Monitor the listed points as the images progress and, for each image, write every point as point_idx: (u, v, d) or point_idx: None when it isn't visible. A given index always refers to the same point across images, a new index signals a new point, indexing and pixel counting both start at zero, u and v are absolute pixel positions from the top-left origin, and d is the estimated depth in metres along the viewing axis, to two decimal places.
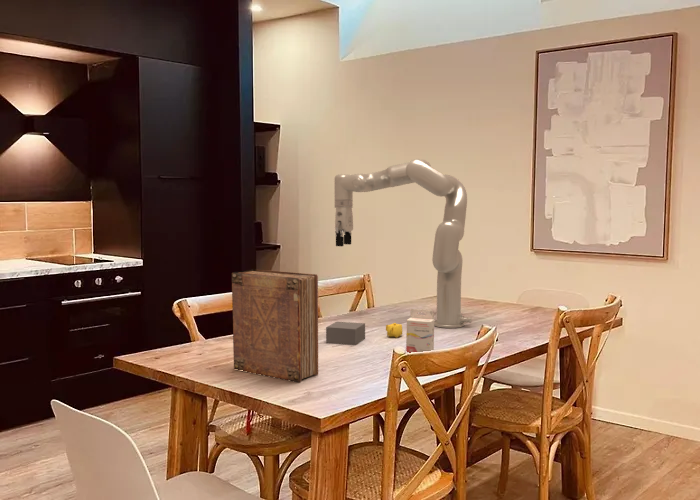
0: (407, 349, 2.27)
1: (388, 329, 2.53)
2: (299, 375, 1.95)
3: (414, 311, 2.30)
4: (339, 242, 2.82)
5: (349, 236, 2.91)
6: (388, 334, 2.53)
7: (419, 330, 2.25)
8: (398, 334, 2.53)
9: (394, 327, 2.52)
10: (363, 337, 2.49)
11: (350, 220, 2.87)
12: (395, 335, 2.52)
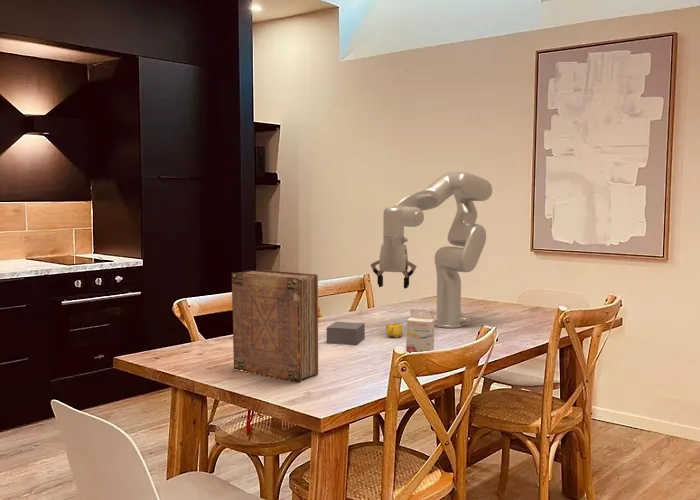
0: (407, 349, 2.27)
1: (388, 329, 2.53)
2: (299, 375, 1.95)
3: (414, 311, 2.30)
4: (408, 283, 2.52)
5: (382, 277, 2.56)
6: (388, 334, 2.53)
7: (419, 330, 2.25)
8: (398, 334, 2.53)
9: (394, 327, 2.52)
10: (363, 337, 2.50)
11: None
12: (395, 335, 2.52)
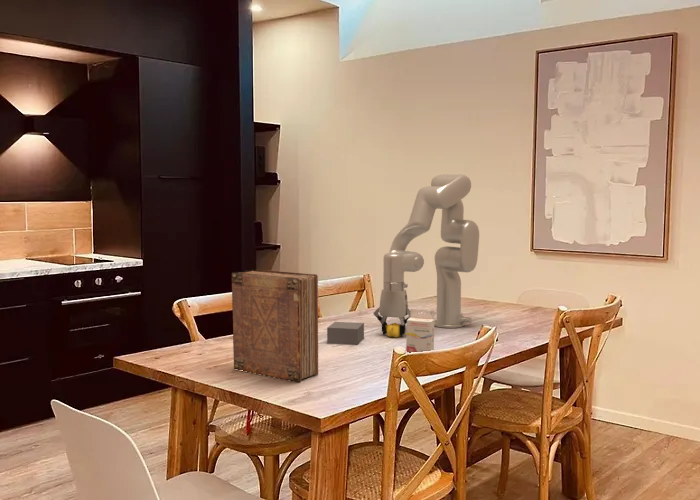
0: (407, 349, 2.27)
1: (388, 329, 2.53)
2: (299, 375, 1.95)
3: (414, 311, 2.30)
4: (404, 330, 2.54)
5: (386, 324, 2.57)
6: (388, 334, 2.53)
7: (419, 330, 2.25)
8: (398, 334, 2.53)
9: (394, 327, 2.52)
10: (362, 337, 2.50)
11: None
12: (395, 335, 2.52)
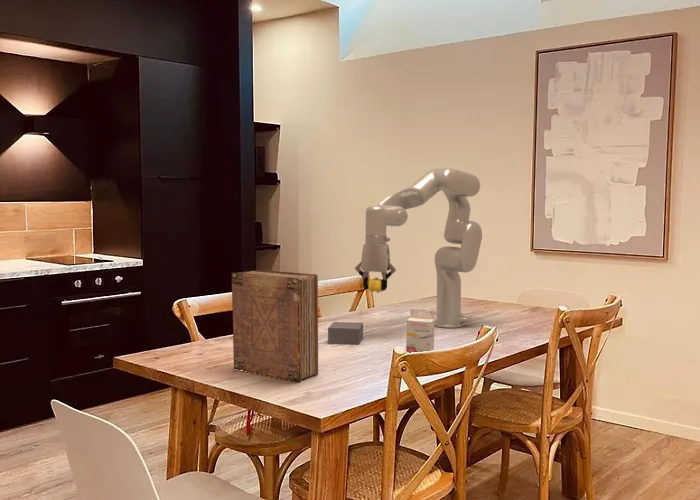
0: (407, 349, 2.27)
1: (370, 283, 2.49)
2: (299, 375, 1.95)
3: (414, 311, 2.30)
4: (386, 285, 2.49)
5: (368, 279, 2.52)
6: (369, 289, 2.49)
7: (419, 330, 2.25)
8: (380, 288, 2.48)
9: (376, 281, 2.48)
10: (362, 336, 2.51)
11: None
12: (377, 289, 2.47)
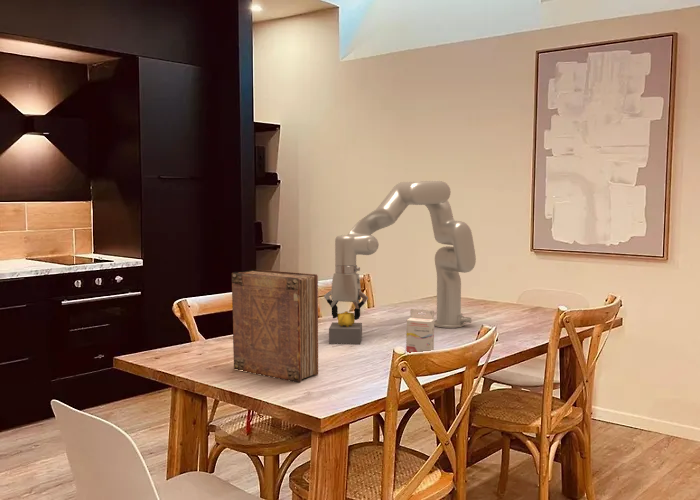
0: (407, 349, 2.27)
1: (339, 318, 2.46)
2: (299, 375, 1.95)
3: (414, 311, 2.30)
4: (359, 314, 2.46)
5: (337, 308, 2.49)
6: (339, 323, 2.46)
7: (419, 330, 2.25)
8: (349, 323, 2.45)
9: (345, 315, 2.44)
10: (361, 336, 2.51)
11: None
12: (346, 324, 2.44)
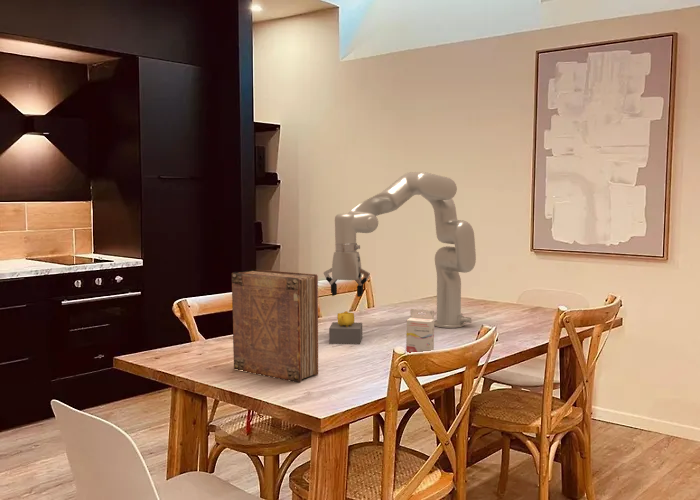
0: (407, 349, 2.27)
1: (338, 317, 2.46)
2: (299, 375, 1.95)
3: (414, 311, 2.30)
4: (362, 291, 2.45)
5: (336, 285, 2.49)
6: (338, 323, 2.46)
7: (419, 330, 2.25)
8: (348, 323, 2.45)
9: (344, 315, 2.45)
10: None
11: None
12: (345, 324, 2.45)
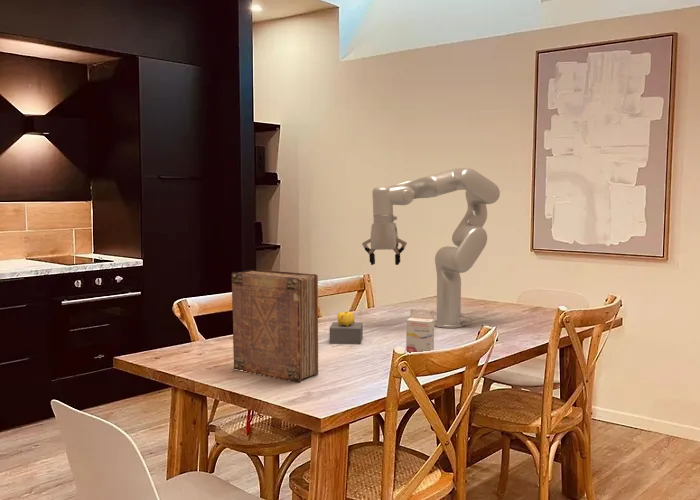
0: (407, 349, 2.27)
1: (338, 317, 2.46)
2: (299, 375, 1.95)
3: (414, 311, 2.30)
4: (399, 260, 2.60)
5: (374, 255, 2.64)
6: (338, 322, 2.47)
7: (419, 330, 2.25)
8: (348, 322, 2.45)
9: (344, 315, 2.45)
10: None
11: None
12: (345, 323, 2.45)
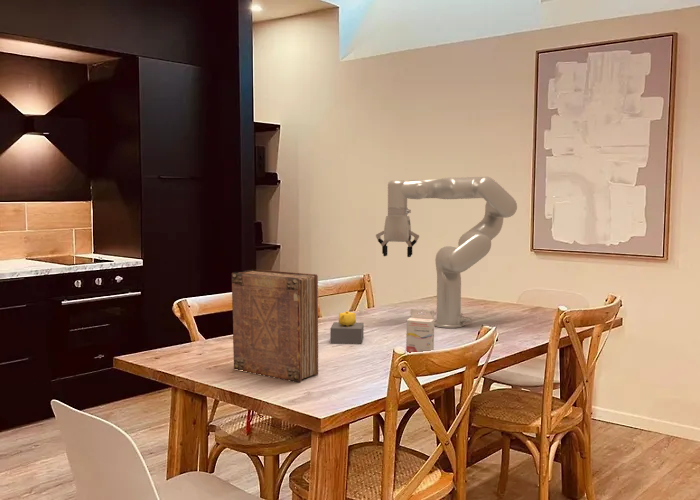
0: (407, 349, 2.27)
1: (339, 317, 2.47)
2: (299, 375, 1.95)
3: (414, 311, 2.30)
4: (411, 252, 2.66)
5: None
6: (339, 322, 2.47)
7: (419, 330, 2.25)
8: (349, 323, 2.45)
9: (345, 315, 2.45)
10: None
11: None
12: (345, 323, 2.45)
